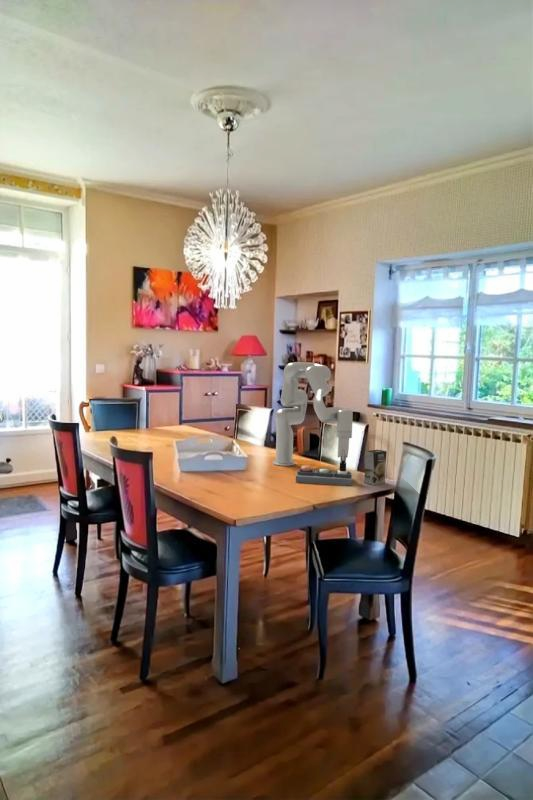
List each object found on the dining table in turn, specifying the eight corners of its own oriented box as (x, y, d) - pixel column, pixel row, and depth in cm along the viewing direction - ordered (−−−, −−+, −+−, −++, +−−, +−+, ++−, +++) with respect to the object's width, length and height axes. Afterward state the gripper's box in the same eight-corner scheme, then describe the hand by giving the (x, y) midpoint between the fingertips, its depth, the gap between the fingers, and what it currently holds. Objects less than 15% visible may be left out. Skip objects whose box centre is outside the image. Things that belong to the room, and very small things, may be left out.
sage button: (319, 472, 268) (319, 468, 268) (329, 472, 267) (329, 468, 267) (318, 474, 263) (319, 470, 263) (329, 475, 262) (329, 471, 262)
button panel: (298, 475, 274) (298, 467, 274) (351, 478, 270) (351, 470, 270) (295, 482, 260) (295, 473, 260) (351, 485, 256) (351, 476, 256)
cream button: (337, 473, 267) (337, 469, 266) (347, 473, 266) (347, 469, 266) (337, 475, 262) (337, 471, 261) (347, 476, 261) (347, 472, 261)
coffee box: (373, 485, 258) (375, 452, 257) (363, 482, 263) (365, 450, 262) (385, 482, 264) (387, 450, 263) (375, 480, 269) (376, 448, 267)
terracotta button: (301, 469, 269) (301, 465, 269) (311, 469, 268) (311, 465, 268) (300, 471, 264) (300, 467, 264) (310, 472, 263) (311, 468, 263)
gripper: (336, 431, 270) (335, 467, 271) (336, 436, 255) (334, 473, 257) (351, 432, 268) (350, 468, 270) (352, 437, 254) (350, 474, 255)
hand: (342, 470), depth 263 cm, fingers closed
